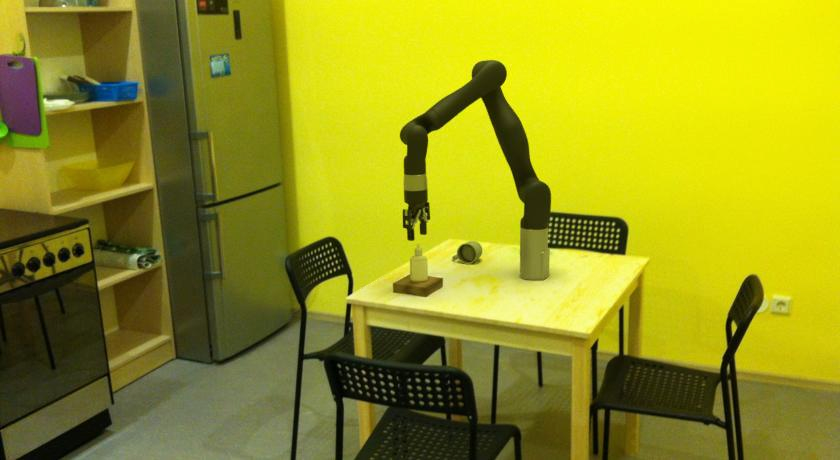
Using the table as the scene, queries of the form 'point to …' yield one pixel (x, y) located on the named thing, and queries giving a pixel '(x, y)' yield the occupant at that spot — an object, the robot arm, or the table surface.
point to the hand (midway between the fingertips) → (417, 237)
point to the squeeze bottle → (418, 266)
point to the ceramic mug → (468, 252)
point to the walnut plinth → (417, 286)
